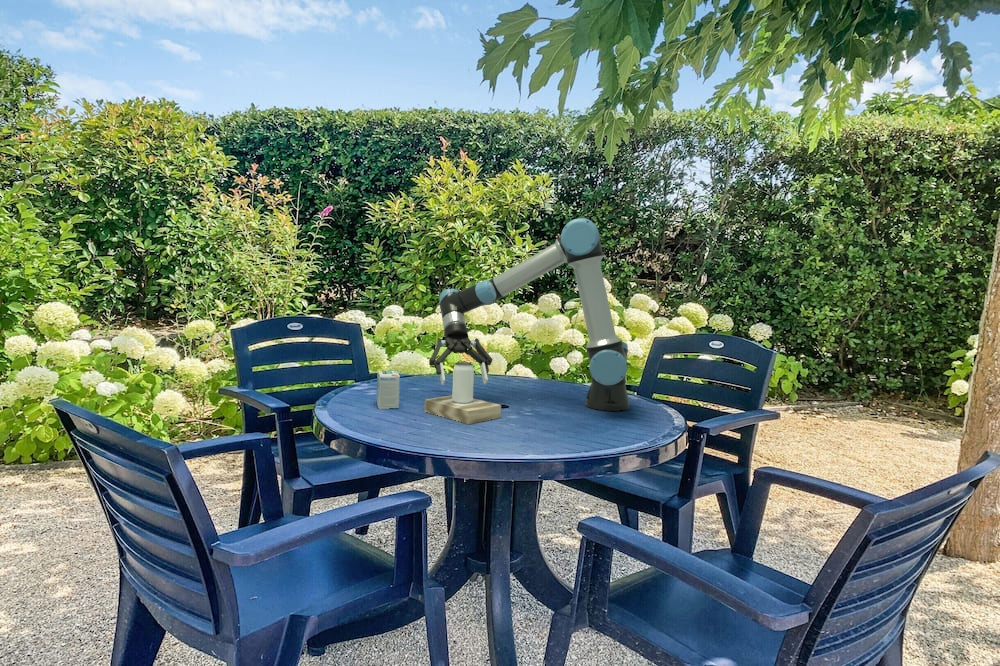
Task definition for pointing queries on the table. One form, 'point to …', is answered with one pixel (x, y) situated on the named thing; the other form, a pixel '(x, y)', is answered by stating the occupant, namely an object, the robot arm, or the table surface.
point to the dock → (463, 409)
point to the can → (463, 382)
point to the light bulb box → (388, 389)
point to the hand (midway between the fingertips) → (464, 382)
